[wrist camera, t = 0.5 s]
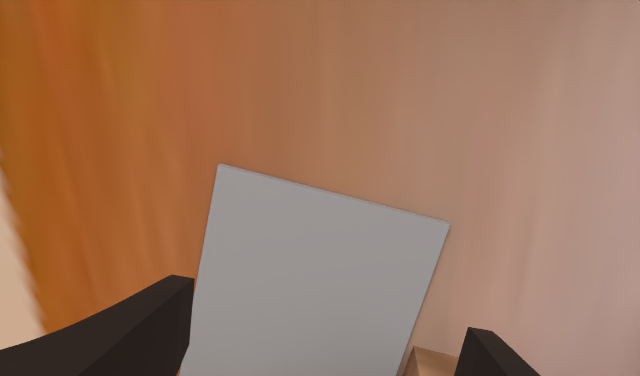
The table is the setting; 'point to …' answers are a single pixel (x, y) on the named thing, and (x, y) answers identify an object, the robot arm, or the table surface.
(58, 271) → the table surface
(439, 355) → the brown and cream block
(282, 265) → the mat
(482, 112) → the table surface
